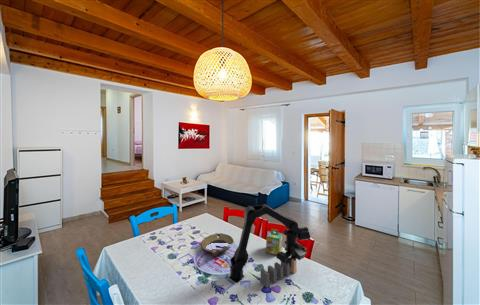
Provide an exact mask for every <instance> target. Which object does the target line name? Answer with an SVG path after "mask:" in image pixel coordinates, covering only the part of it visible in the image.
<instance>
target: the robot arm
mask: <svg viewBox="0 0 480 305" xmlns="http://www.w3.org/2000/svg"><path fill="white" fill-rule="evenodd" d="M243 213H244V214H243V220H244V222H243V226H242V231H241V235H240V240H239V242H238V246H237V248H236V249H235V252H234V253H233V256H232V257H231V258H229V261H230V267H229V269H230V271H229V272H230V275H229V276H228V279H229V280H231V281H233V282H235V283H237V284H238V283H239V282H240V281H242V279H244V278H245V275H244V269H243V268H244V266H246V264H247V263H248V258H249V253H248V250H247V248H248V244H249V239H250V234H251V231H252V226H253V224H254V223H255V222H256V220H257V218H260V217H262V216H264V215H268V216H269V217H271V218H272V219H274V220H276V221H278V222H280V223H282V224H283V225H284V226H285V227H286V228H285V229H283V231H282V234H284V235H285V239H286V240H285V241H284V244H285V247H284V250H285V252H284V251H282V250H281V252H279V253H277V254H276V255H275V256H276V259H277V260H279V261H280V262H281V261H282V262H286V261H287V262H288V263H290V267H291V260H292V258H293V259H294V260H296V261H297V260H298V261H301V260H302V259H305V256H306V255H307V252H308V251H307V248H306V247H305V246H303V244H302V245H301V244H299V243H298V242H297V240H298V241H307V240H308V241H309V240H310V239H311V233H310V230H309V228H308V227H307V226H304V227H299V224H298V222H297V221H296V220H294V219H293V217H290V216H288V215H287V216H286V215H284V214H282V213H280V212H278V211H277V210H275V209H273V208H271V207H270V206H268V205H267V204H265V203H264V204H259V205H248V206H247V207H245V208H244V212H243Z"/></svg>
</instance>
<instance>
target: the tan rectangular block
mask: <svg viewBox="0 0 480 305" xmlns="http://www.w3.org/2000/svg"><path fill="white" fill-rule="evenodd" d="M290 272H291V273H293V274H296V273H297V259H296V260H294V259H293V258H292V260H291V267H290Z"/></svg>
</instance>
